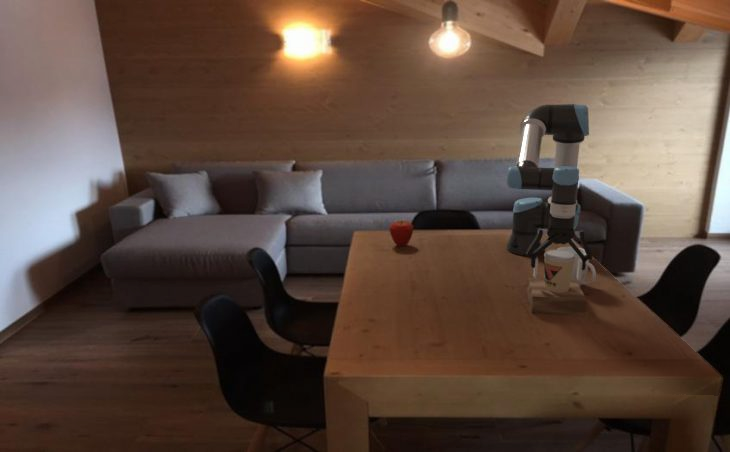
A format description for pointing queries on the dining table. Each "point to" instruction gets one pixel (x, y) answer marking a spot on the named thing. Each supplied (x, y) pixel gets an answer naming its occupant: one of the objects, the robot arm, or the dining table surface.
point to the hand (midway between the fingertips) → (556, 277)
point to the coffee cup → (558, 270)
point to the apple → (401, 232)
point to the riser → (555, 299)
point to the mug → (575, 265)
